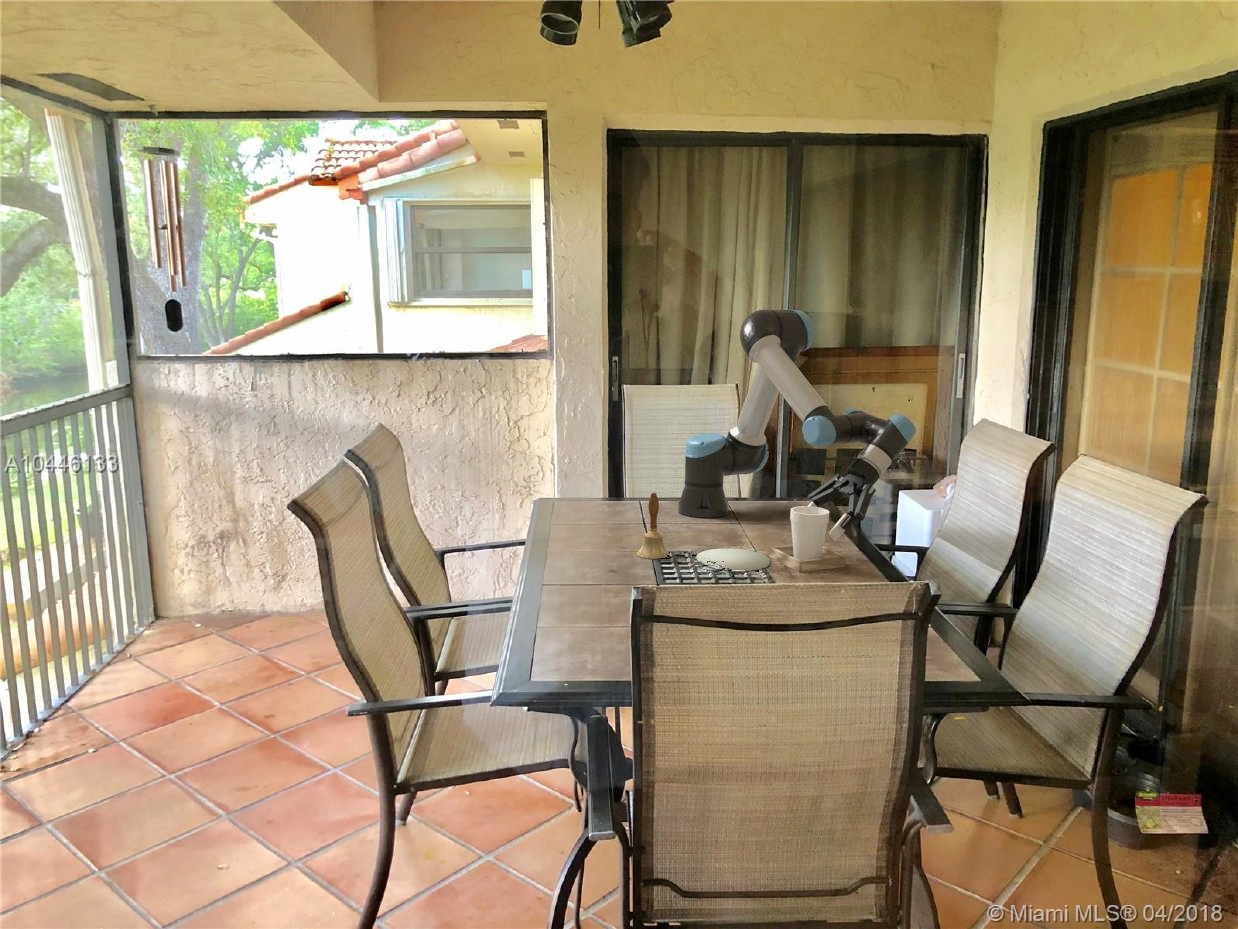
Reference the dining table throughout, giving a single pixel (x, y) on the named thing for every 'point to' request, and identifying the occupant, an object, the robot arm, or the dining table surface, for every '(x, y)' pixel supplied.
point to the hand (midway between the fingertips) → (814, 530)
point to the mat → (734, 558)
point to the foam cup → (808, 531)
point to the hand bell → (653, 535)
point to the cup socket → (827, 562)
